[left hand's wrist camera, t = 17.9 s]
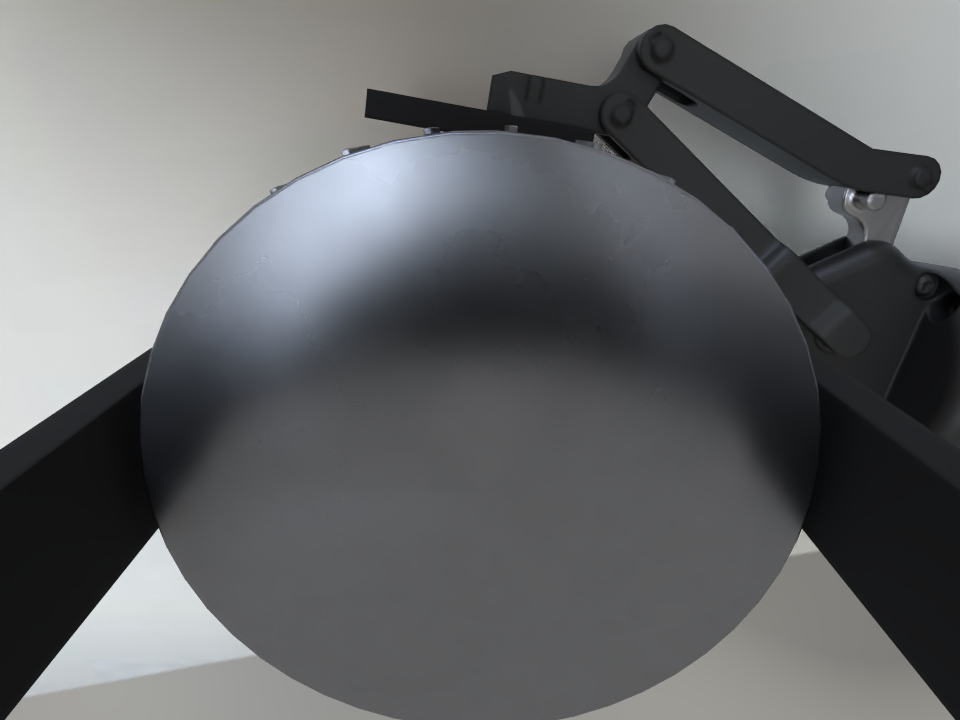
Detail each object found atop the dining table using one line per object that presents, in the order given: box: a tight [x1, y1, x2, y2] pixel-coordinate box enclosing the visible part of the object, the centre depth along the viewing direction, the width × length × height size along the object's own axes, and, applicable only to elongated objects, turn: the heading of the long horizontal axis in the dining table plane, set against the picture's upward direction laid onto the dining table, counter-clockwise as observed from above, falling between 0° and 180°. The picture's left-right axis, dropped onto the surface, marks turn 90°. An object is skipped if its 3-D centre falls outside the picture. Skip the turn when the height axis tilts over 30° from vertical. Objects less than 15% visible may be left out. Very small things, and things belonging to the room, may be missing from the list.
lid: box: [139, 125, 821, 720], centre depth 11 cm, size 11×11×2 cm
